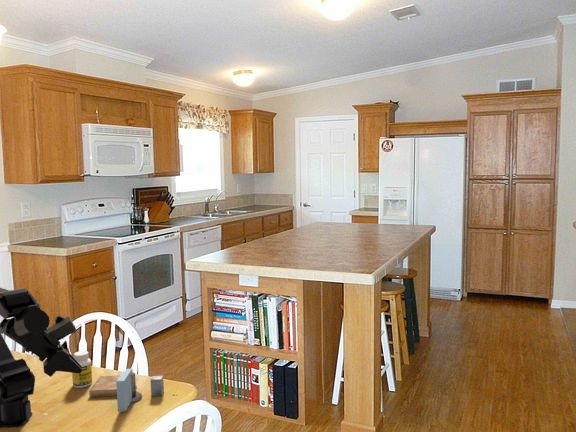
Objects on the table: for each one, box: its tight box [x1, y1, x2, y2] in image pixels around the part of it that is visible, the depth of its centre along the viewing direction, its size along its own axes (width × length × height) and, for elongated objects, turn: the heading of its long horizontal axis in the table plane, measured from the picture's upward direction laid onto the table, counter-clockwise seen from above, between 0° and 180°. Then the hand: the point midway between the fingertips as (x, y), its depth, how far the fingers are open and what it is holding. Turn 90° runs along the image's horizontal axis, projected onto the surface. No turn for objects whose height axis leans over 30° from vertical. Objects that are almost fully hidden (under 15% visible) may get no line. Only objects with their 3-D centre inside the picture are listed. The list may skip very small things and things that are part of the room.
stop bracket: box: [150, 375, 165, 398], centre depth 142 cm, size 3×2×5 cm
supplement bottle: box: [71, 350, 93, 389], centre depth 150 cm, size 5×5×10 cm
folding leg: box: [116, 368, 134, 412], centre depth 136 cm, size 9×2×8 cm, turn 3°
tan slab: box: [88, 372, 143, 404], centre depth 144 cm, size 15×15×7 cm
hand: (80, 370), depth 129 cm, fingers open, 2 cm apart
